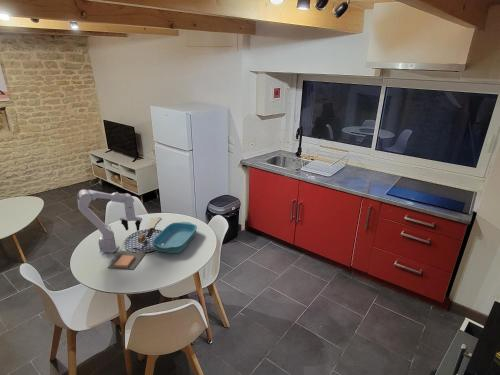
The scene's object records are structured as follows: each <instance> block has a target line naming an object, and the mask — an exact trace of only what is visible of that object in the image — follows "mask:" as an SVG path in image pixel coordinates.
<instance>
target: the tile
mask: <svg viewBox="0 0 500 375" xmlns="http://www.w3.org/2000/svg"><path fill="white" fill-rule="evenodd" d="M134 259H135V256H127V255H122V256H121V257H120V259H119V260H118V261H117V262H116V263H115V264H114V265H115V267H124V268H128V267H129V265H130V264H131V263H132V261H133V260H134Z"/></svg>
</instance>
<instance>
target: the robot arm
mask: <svg viewBox="0 0 500 375" xmlns="http://www.w3.org/2000/svg"><path fill="white" fill-rule="evenodd" d="M76 195H77V196H76V198H77V208H78V210H79V212H80V213H81V214H82V215H83V216H84V217H86V218H87V219H88V221H90V223H92V225H94V226H95V227H96V228H97V230H98V231H99V232H100V233H101V235H102V236H100V237H99V238H98V248H99V252H100V253H114V252H115V251H116V250H117V249H118V248H119V247H120V246H119V245H116V238H115V233H114V231H113V229H112V227H111V226H110V225H107V224H106V223H105V222H103V220H101V219H100V217H98V215H97V214H96V213H94V211H93V210H92V209H91V208H90V207H89V205H90V204H91V202H92V201H93V202H94V201H95V200H96V199H104V200H110V201H111V202H113V203H114V202H115V203H121V204H123V205H124V214H125V216H120V217H119V220H120V223H121V225H123V227H124V229H125V231H128V230H129V223H128V222H132V221H133V222H134V225H135V227H136V228H135V229H136V231H137V232H139V231H140V226H141V223H142V221H143V217H139V216H137V215H136V212H135V207H134V206H135V205H134V201H135V199H134V197H133V196H132V195H131V194H130V193H127V192H126V193H119V192H118V191H116V192H112V193H107V192H103V191H98V190H93V189H80V190H79V191H78V193H77V194H76Z"/></svg>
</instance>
